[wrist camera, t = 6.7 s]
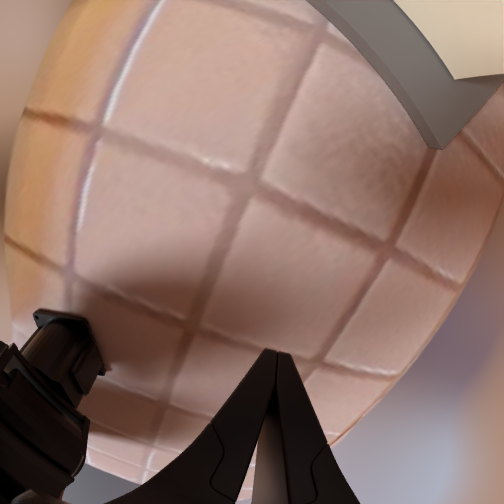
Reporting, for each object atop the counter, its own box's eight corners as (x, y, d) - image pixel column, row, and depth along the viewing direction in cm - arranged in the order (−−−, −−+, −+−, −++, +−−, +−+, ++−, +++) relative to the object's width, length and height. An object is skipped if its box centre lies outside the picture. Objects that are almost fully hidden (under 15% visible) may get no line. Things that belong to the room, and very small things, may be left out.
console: (429, 148, 15) (441, 149, 14) (269, -27, 10) (271, -39, 9) (508, 63, 11) (518, 62, 10) (397, -70, 7) (404, -76, 5)
